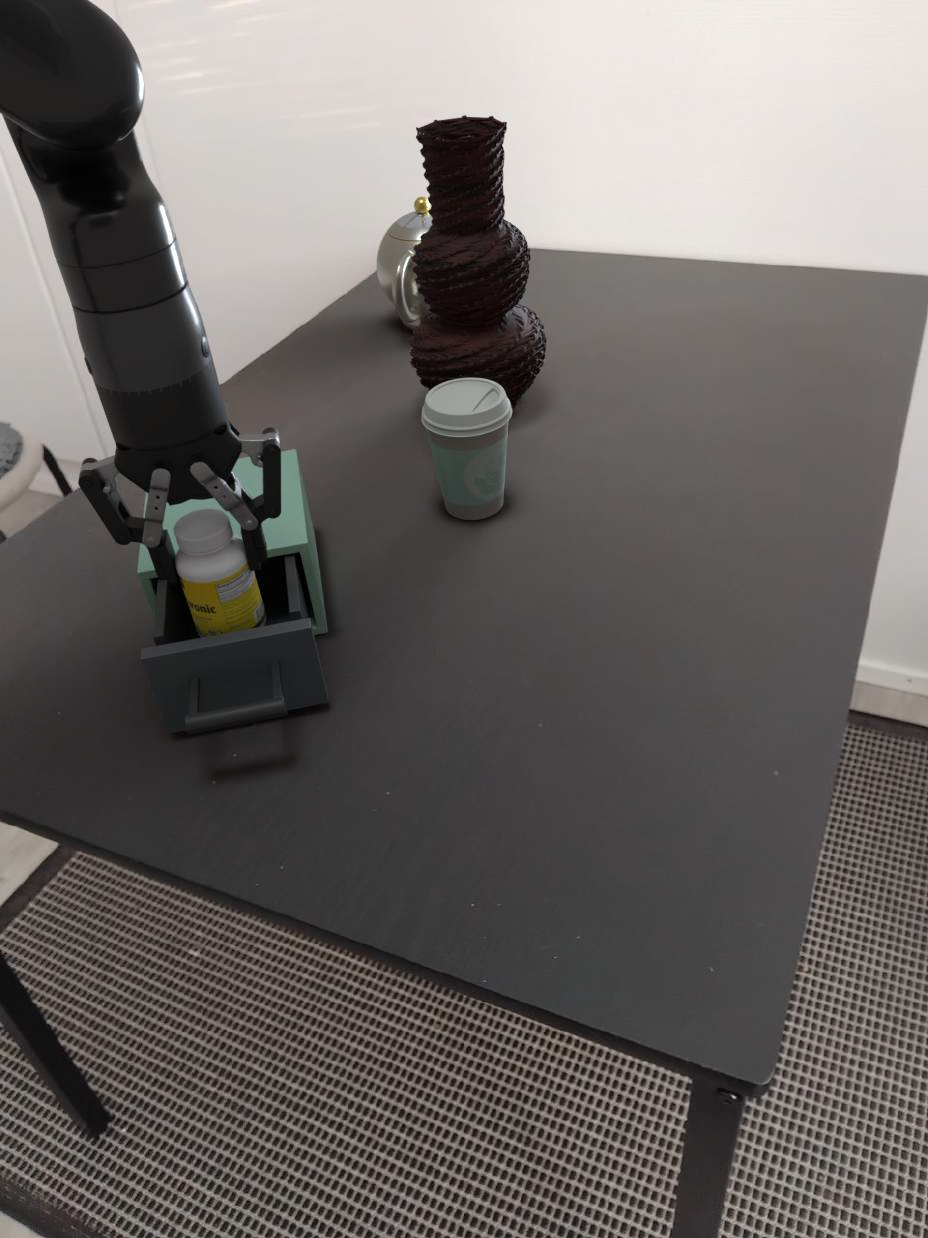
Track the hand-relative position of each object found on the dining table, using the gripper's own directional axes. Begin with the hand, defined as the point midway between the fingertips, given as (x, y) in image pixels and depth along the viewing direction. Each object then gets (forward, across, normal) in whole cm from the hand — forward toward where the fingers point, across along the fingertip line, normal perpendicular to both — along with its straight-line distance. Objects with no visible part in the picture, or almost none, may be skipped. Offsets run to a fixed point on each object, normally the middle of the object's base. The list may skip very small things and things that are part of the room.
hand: (215, 570), depth 73 cm
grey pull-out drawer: (+11, 0, 0) cm, 11 cm away
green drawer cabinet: (+12, 0, -12) cm, 17 cm away
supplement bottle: (+6, 0, 0) cm, 6 cm away
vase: (+12, -28, -40) cm, 51 cm away
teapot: (+12, -26, -65) cm, 71 cm away
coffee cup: (+12, -23, -20) cm, 33 cm away
